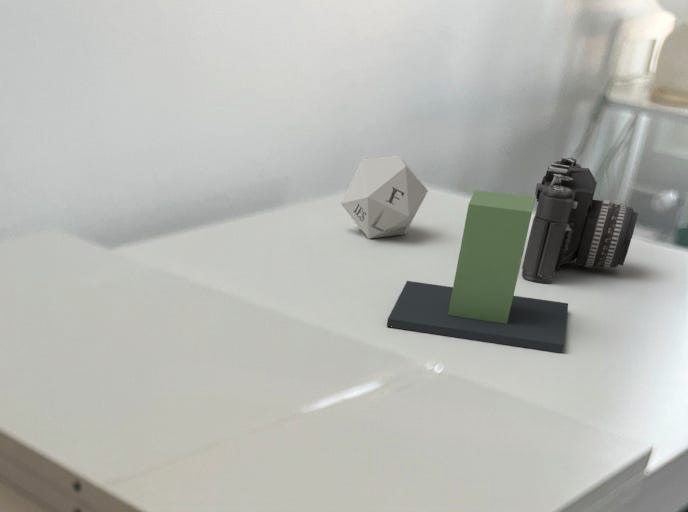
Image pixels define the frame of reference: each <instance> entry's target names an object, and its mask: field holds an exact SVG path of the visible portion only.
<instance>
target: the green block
mask: <svg viewBox="0 0 688 512" xmlns="http://www.w3.org/2000/svg"><path fill="white" fill-rule="evenodd" d="M535 201H536V196H528V195H520V194H511V193H503V192H494V191H486V190H478V189H477V190H476V189H475V190H474V191H473V193H472V196H471V198H470V200H469V203H468V206H467V212H466V215H465V216H466V217H465V222H464V228H463V231H462V232H463V233H462V238H461V243H460V249H459V254H458V259H457V264H456V270H455V275H454V279H453V280H454V281H453V286H452V287H453V291H452V296H451V301H450V307H449V312H448V315H449V316H455V317H462V318H469V319H476V320H483V321H490V322H497V323H503V324H507V322H508V318H509V313H510V309H511V305H512V300H513V296H515V291H516V286H517V281H518V278H519V272H520V269H521V264H522V260H523V255H524V250H525V245H526V241H527V237H528V232H529V228H530V224H531V218H532V215H533V209H534V206H535Z"/></svg>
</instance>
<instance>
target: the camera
mask: <svg viewBox="0 0 688 512" xmlns="http://www.w3.org/2000/svg"><path fill="white" fill-rule="evenodd" d="M597 184H598V182H597V181H596V179H595V177H594V175H593V173H592V171H591V170H590V168H589V167H582V166H581V164H579V163H577V159H576V158H573V157H566V158H564V157H561V160H557V161H555V162H554V163H553V162H552V163H551V164H550V166H548V167H547V169H546V172H545V175H543V177H542V180H541V182H537V183H536V186H535V192H534V195H535V196H534V197H535V200H536V202H537V206H536V209H535V214H534V217H533V220H532V224H531V228H530V232H529V235H528V239H527V240H528V241H527V245H526V249H525V253H524V257H523V262H522V266H521V269H522V271H521V276H522V277H523V279H524V280H527V281H530V282H534V283H541V284H550V283H552V280H553V279H554V276H555V272H556V271H559V270H560V266H561V265H565V264H568V263H571V262H575V263H574V264H575V265H579V266H584V267H585V268H590V269H591V268H597V267H599V268H602V269H605V270H606V269H607V270H609V268H613V269H615V268H617V267H618V266H624V264H625V260H626V258H627V255H628V252H629V248H630V244H631V241H632V238H633V235H634V231H635V227H636V224H637V221H638V215H639V212H637V211H634V209H633V207H629V206H627V204H623V203H621V204H618V203H617V204H616V203H615V202H611V201H610V200H609V199H603V200H598V199H594V196H595V193H596V188H597Z"/></svg>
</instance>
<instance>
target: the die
mask: <svg viewBox="0 0 688 512" xmlns="http://www.w3.org/2000/svg"><path fill="white" fill-rule="evenodd" d="M356 169H357V170H356V171H355V174H354V175H353V177H352V179H351V182H350V184H349V186H348V188H347V190H346V192H345V194H344V196H343V198H342V200H341V201H340V205H341V206H342V207H343V209H344V210H345V211H346V212H347V213H348V215H349V216H350V217H351V219H352V220H353V221H354V222H355V224H356V225H357V226H358V227H359V228H360V230H361V231H362V232H363V234H364V235H365V237H367V238H368V240H369V239H370V240H371V239H378V238H386V237H387V238H388V237H394V236H401V235H402V236H403V235H406V233H407V232H408V230H409V228H410V226H411V225H412V223H413V221H414V218H415V217H416V214H417V213H418V211H419V209H420V207H421V206H422V203H423V201H424V200H425V198H426V196H427V194H428V192H429V190H428V189H427V188H426V186H425V185H424V184H423V182H421V180H420V179H419V177H418V176H417V175H416V173H414V171H413V170H412V169H411V167H409V165H408V164H407V163H406V161H405V160H404V159H403V158H402V156H401V155H390V156H377V157H369V158H368V157H366V158H362V159H361V160H360V163H359V164H358V167H357V168H356Z"/></svg>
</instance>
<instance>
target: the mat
mask: <svg viewBox="0 0 688 512" xmlns="http://www.w3.org/2000/svg"><path fill="white" fill-rule="evenodd" d="M452 291H453V286H446V285H441V284H440V285H439V284H432V283H426V282H418V281H412V280H406V282H405V284H404V286H403V288H402V290H401V292H400V294H399V296H398V297H397V299H396V302H395V304H394V306H393V307H392V310H391V312H390V314H389V316H388V318H387V321H386V327H387V326H392V327H397V328H396V329H399V328H401V329H400V330H405V329H406V330H405V331H412V332H419V333H426V334H433V335H439V336H446V337H452V338H458V339H466V340H474V341H480V342H486V343H494V344H499V345H504V346H505V345H506V346H512V347H519V348H524V349H525V348H526V349H533V350H540V351H546V352H553V353H559V354H562V353H563V352H564V349H565V344H566V343H565V342H566V331H567V320H568V311H569V303H568V302H562V301H556V300H555V301H554V300H549V299H547V300H546V299H541V298H534V297H526V296H519V295H514V296H513V300H512V305H511V309H510V313H509V318H508V322H507V324H503V323H497V322H490V321H483V320H476V319H469V318H462V317H455V316H449V315H448V312H449V307H450V301H451V296H452ZM392 327H391V328H392Z"/></svg>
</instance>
